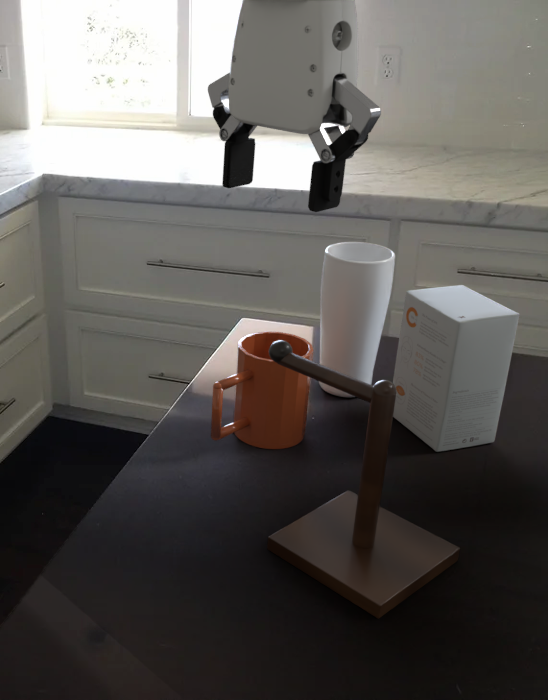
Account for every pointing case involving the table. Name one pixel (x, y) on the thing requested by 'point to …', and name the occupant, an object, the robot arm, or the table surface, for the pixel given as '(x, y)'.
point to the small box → (452, 366)
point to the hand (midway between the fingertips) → (278, 196)
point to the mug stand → (361, 515)
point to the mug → (265, 394)
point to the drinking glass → (353, 308)
